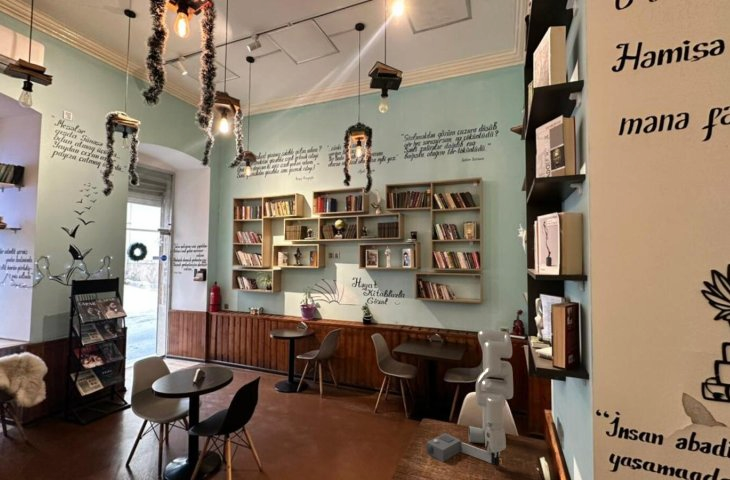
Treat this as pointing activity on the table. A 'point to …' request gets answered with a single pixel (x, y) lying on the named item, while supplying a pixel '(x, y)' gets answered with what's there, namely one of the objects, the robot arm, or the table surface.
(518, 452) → the table surface
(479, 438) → the ceramic mug
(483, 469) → the table surface
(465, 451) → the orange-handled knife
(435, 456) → the grey control box
